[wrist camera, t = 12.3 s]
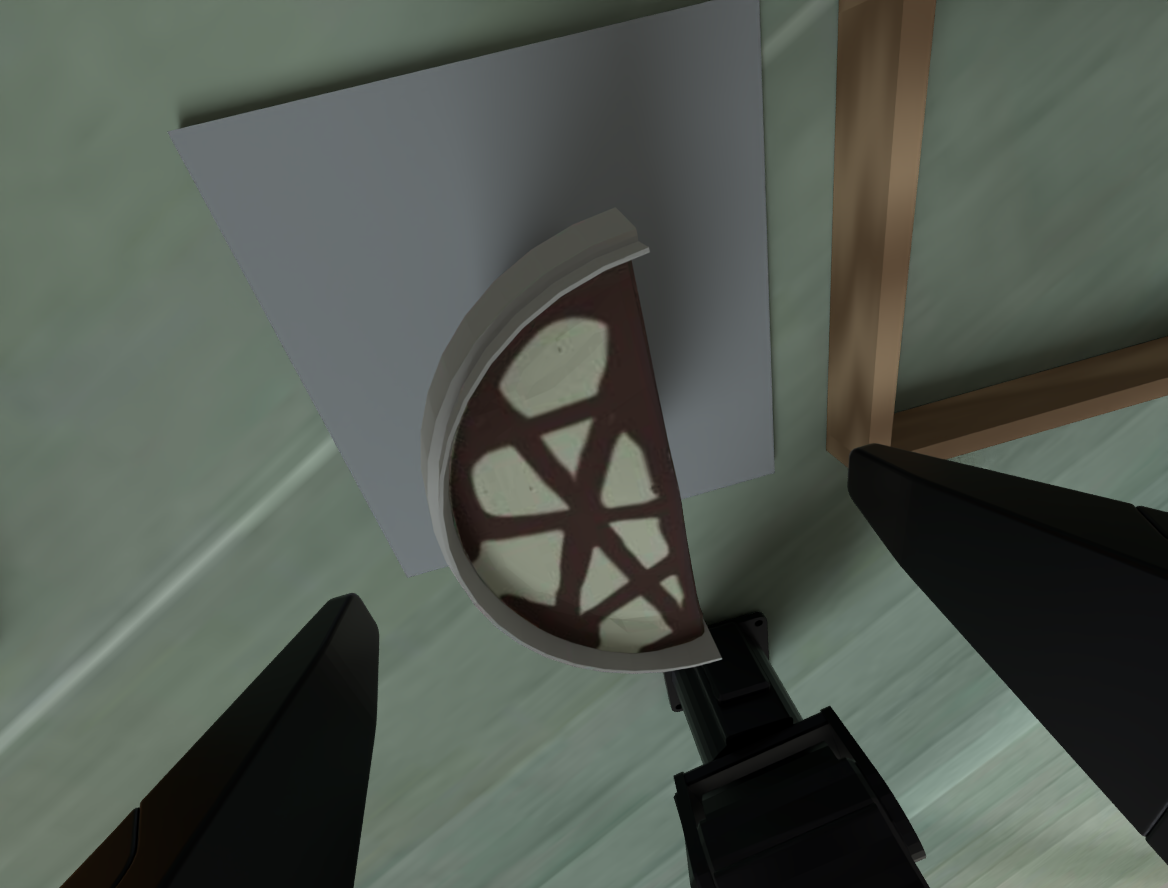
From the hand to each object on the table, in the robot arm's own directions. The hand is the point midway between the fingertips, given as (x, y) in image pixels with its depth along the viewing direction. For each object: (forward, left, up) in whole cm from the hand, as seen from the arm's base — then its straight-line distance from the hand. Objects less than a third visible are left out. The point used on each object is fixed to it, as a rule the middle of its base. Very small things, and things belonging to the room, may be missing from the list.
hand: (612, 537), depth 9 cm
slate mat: (0, 0, -13) cm, 13 cm away
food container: (-2, +1, -12) cm, 12 cm away
